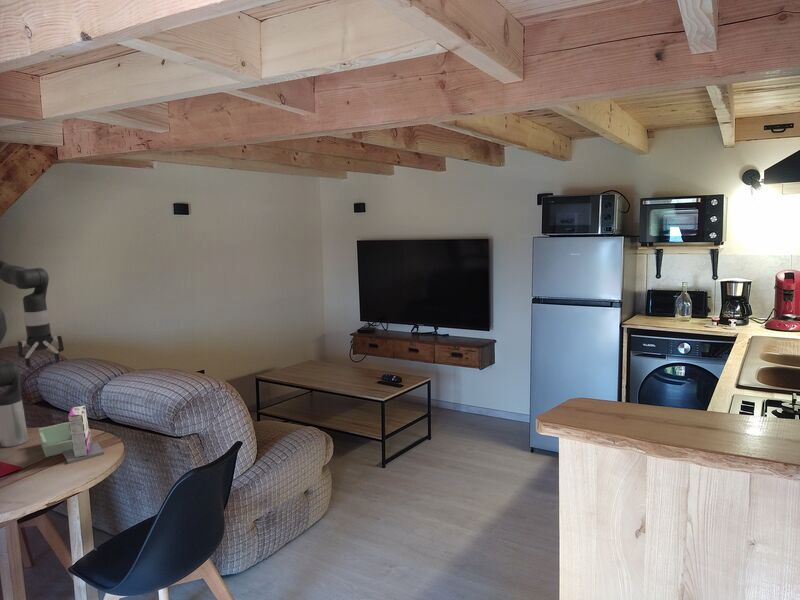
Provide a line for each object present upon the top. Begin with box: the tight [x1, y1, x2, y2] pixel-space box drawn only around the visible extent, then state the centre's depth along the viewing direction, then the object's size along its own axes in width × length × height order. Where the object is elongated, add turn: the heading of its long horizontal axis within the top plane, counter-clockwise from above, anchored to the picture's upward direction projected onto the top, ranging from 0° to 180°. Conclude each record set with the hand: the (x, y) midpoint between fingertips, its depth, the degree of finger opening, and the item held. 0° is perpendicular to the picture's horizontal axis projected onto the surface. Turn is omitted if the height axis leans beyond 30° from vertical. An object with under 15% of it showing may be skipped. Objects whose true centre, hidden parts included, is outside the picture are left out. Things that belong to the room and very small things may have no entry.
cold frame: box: [38, 421, 93, 458], centre depth 223 cm, size 15×16×7 cm
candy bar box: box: [67, 405, 91, 458], centre depth 213 cm, size 11×5×16 cm, turn 24°
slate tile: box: [62, 442, 105, 465], centre depth 215 cm, size 12×12×1 cm
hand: (43, 365), depth 210 cm, fingers open, 8 cm apart
